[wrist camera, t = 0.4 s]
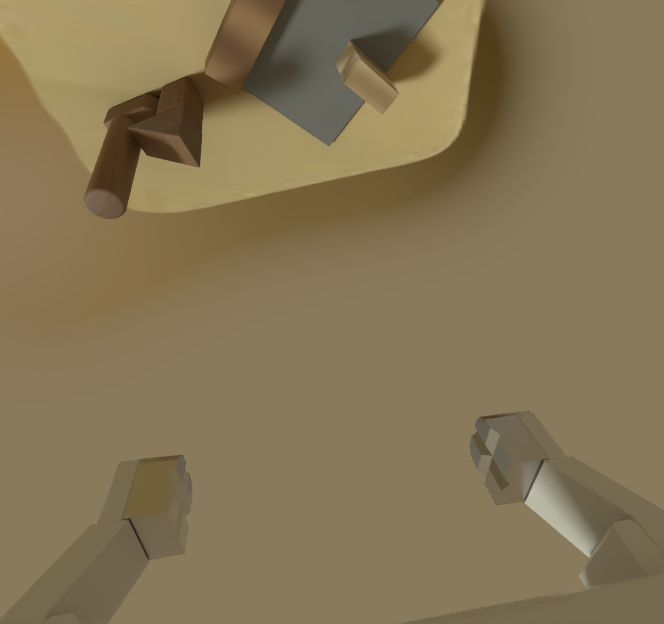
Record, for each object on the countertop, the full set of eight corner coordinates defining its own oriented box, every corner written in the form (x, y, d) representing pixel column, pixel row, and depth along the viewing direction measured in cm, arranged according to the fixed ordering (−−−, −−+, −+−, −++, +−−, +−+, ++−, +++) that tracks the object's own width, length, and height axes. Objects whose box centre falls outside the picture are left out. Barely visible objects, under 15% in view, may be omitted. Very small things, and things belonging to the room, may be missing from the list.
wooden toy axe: (204, 104, 50) (199, 189, 39) (127, 135, 51) (101, 226, 40) (188, 74, 47) (177, 156, 36) (107, 108, 48) (72, 197, 37)
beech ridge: (349, 39, 46) (360, 60, 43) (386, 72, 50) (399, 94, 46) (334, 61, 48) (343, 83, 44) (370, 92, 51) (382, 114, 48)
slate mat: (343, -108, 38) (344, -107, 37) (437, 1, 46) (439, 4, 45) (237, 81, 48) (237, 84, 48) (328, 143, 56) (329, 146, 56)
